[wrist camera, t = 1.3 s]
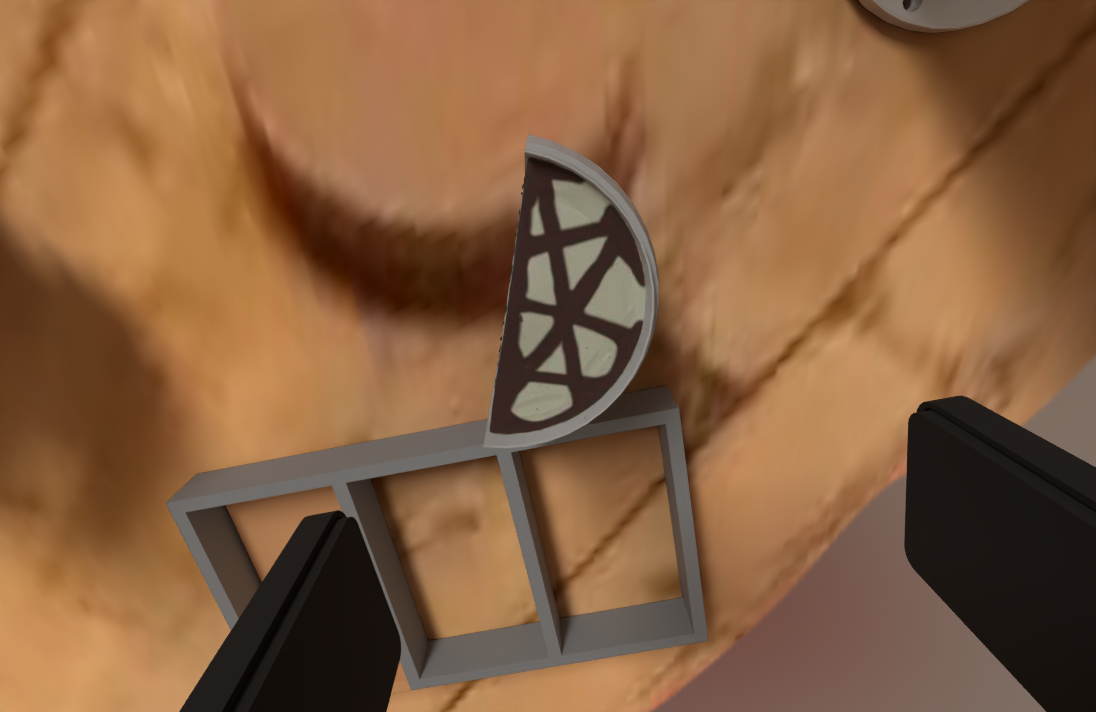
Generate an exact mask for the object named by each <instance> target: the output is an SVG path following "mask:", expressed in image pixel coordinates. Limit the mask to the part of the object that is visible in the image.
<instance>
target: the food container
mask: <svg viewBox="0 0 1096 712" xmlns="http://www.w3.org/2000/svg"><path fill="white" fill-rule="evenodd" d="M522 189H523V192H522V193H521V194H522V200H521V207H520V210H519V221H518V224H517V233H516V234H515V235H516V242H515V249H514V256H513V263H512V267H511V275H510V279H509V281H510V284H509V291H508V298H507V302H506V307H505V319H504V322H503V325H504V326H503V333H502V337H501V338H500V340H501V346H500V349H499V358H498V364H497V370H496V376H495V381H494V387H493V393H492V399H491V405H490V411H489V416H488V422H487V428H486V434H485V440H484V446H483V447H490V448H514V447H527V446H531V445H536V444H540V443H545V442H549V441H551V440H554V439H557V438H559V437H562V436H565V435H567V434H569V433H571V432H573V431H575V430H577V429H579V428H580V427H582V426H584V425H586V424H588V423H589V422H590V421H592V420H593V419H594V418H596V417H597V416H598V415H600V414H601V413H602V412H604V411H605V410H606V409H607V408H608V407H609V406H610V405H611V404H612V403H613V402H614V401H615V400H616V399H617V398H618V397H619V396H620V395H621V394H622V393H623V392H624V391H625V389H626V388H627V387H628V385H629V384H630V382H631V381H632V380H633V378H634V377H635V376H636V374H637V372H638V371H639V369H640V367H641V365H642V363H643V361H644V359H645V357H646V355H647V353H648V350H649V347H650V344H651V341H652V338H653V335H654V332H655V326H656V320H657V313H658V270H657V264H656V258H655V252H654V249H653V246H652V243H651V240H650V237H649V234H648V231H647V228H646V226H645V224H644V222H643V220H642V219H641V217H640V215H639V213H638V211H637V209H636V208H635V206H634V204H633V203H632V202H631V200H630V199H629V198H628V196H627V195H626V194H625V192H624V191H623V190H622V189H621V187H620V186H619V185H618V184H617V183H616V182H615V181H614V180H613V179H612V178H611V177H610V176H609V175H608V174H607V173H605V172H604V171H603V170H602V169H601V168H600V167H599V166H597V165H596V164H594V163H593V162H591V161H590V160H588V159H587V158H585V157H584V156H582V155H581V154H579V153H578V152H576V151H574V150H572V149H569V148H567V147H565V146H563V145H561V144H558V143H556V142H554V141H551V140H548V139H544V138H540V137H536V136H532V135H529V134H528V138H527V143H526V149H525V178H524V184H523V185H522Z"/></svg>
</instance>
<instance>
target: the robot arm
mask: <svg viewBox="0 0 1096 712" xmlns="http://www.w3.org/2000/svg"><path fill="white" fill-rule="evenodd" d="M858 1H859V2H860V3H861V4H862V5H863V6H864V7H865V8H866V9H867V10H869V11H870V12H872V13H873V14H875V15H876V16H878V17H879V18H881V19H882V20H884V21H885V22H887V23H890V24H893V25H896V26H898V27H901V28H904V29H906V30H911V31H920V32H928V33H938V32H947V31H957V30H961V29H964V28H968V27H972V26H975V25H979V24H983V23H986V22H988V21H991V20H993V19H995V18H998V17H1000V16H1003V15H1005V14H1007V13H1010V12H1012V11H1013V10H1015V9H1017V8H1018V7H1020V6H1021V5H1023V4H1024V3H1026V2H1028V1H1029V0H858ZM903 1H904V3H905V7H903ZM905 552H906V556H907V558H908V561H909V562H910V564H911V566H912V567H913V569H914V570H915V571H916V572H917V573H918V574H919V575H920V576H921V578H922V579H923V580H924V581H925V582H926V583H927V584H928V585H929V586H930V587H931V588H932V589H933V590H934V592H935V593H936V594H937V595H938V596H939V597H940V598H941V599H942V600H943V601H944V602H945V603H946V604H947V605H948V606H949V608H950V609H951V610H952V611H953V612H954V613H955V614H956V615H957V616H958V617H959V618H960V619H961V620H962V621H963V623H964V624H965V625H966V626H967V627H968V628H969V629H970V630H971V631H972V632H973V633H974V634H975V635H976V637H977V638H978V639H979V640H980V641H981V642H982V643H983V644H984V645H985V646H986V647H987V648H988V649H989V651H990V652H991V653H992V654H993V655H994V656H995V657H996V658H997V659H998V660H999V661H1000V662H1001V663H1002V664H1003V665H1004V666H1005V668H1006V669H1007V670H1008V671H1009V672H1010V673H1011V674H1012V675H1013V676H1014V677H1015V678H1016V679H1017V680H1018V682H1019V683H1020V684H1021V685H1022V686H1023V687H1024V688H1025V689H1026V690H1027V691H1028V692H1029V693H1030V694H1031V696H1032V697H1033V698H1034V699H1035V700H1036V701H1037V702H1038V703H1039V704H1040V705H1041V706H1042V707H1043V708H1044V709H1045V711H1046V712H1096V467H1094V466H1092V465H1090V464H1089V463H1087V462H1085V461H1083V460H1081V459H1079V458H1077V457H1075V456H1074V455H1072V454H1070V453H1068V452H1067V451H1065V450H1063V449H1061V448H1059V447H1057V446H1056V445H1054V444H1052V443H1050V442H1048V441H1046V440H1045V439H1043V438H1041V437H1039V436H1037V435H1035V434H1034V433H1032V432H1030V431H1028V430H1026V429H1024V428H1023V427H1021V426H1019V425H1017V424H1015V423H1014V422H1012V421H1010V420H1008V419H1006V418H1004V417H1003V416H1001V415H999V414H997V413H995V412H993V411H992V410H990V409H988V408H986V407H984V406H982V405H981V404H979V403H977V402H975V401H973V400H971V399H970V398H967V397H964V396H954V397H949V398H944V399H938V400H933V401H927V402H923V403H922V404H920V405H919V407H918V409H917V413H913V414H912V415H911V416H910V418H909V422H908V449H907V481H906V514H905ZM400 657H401V639H400V635H399V632H398V629H397V627H396V624H395V621H394V619H393V616H392V613H391V610H390V608H389V605H388V602H387V600H386V597H385V594H384V592H383V589H382V586H381V584H380V581H379V578H378V576H377V573H376V570H375V568H374V565H373V562H372V560H371V557H370V554H369V552H368V549H367V546H366V544H365V541H364V538H363V536H362V533H361V530H360V528H359V525H358V523H357V521H356V519H355V518H354V517H346V515H345V514H344V513H343V512H342V511H340V510H337V511H331V512H326V513H321V514H315V515H310V516H306V517H304V518H303V519H302V521H301V522H300V524H299V525H298V527H297V528H296V530H295V531H294V533H293V534H292V536H291V538H290V539H289V541H288V542H287V544H286V545H285V547H284V549H283V550H282V552H281V553H280V555H279V556H278V558H277V560H276V561H275V563H274V564H273V566H272V567H271V569H270V571H269V572H268V574H267V575H266V577H265V578H264V580H263V581H262V583H261V585H260V586H259V588H258V589H257V591H256V592H255V594H254V596H253V597H252V599H251V600H250V602H249V603H248V605H247V607H246V608H245V610H244V611H243V613H242V614H241V616H240V617H239V619H238V621H237V622H236V624H235V625H234V627H233V628H232V630H231V632H230V633H229V635H228V636H227V638H226V639H225V641H224V643H223V644H222V646H221V647H220V649H219V650H218V652H217V653H216V655H215V657H214V658H213V660H212V661H211V663H210V664H209V666H208V668H207V669H206V671H205V672H204V674H203V675H202V677H201V679H200V680H199V682H198V683H197V685H196V686H195V688H194V690H193V691H192V693H191V694H190V696H189V697H188V699H187V700H186V702H185V704H184V705H183V707H182V708H181V710H180V711H179V712H386V711H387V707H388V703H389V700H390V696H391V692H392V688H393V684H394V681H395V677H396V673H397V669H398V665H399V662H400Z"/></svg>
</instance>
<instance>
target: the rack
mask: <svg viewBox="0 0 1096 712" xmlns="http://www.w3.org/2000/svg"><path fill="white" fill-rule="evenodd" d="M487 422H488V419H486V420H481V421H475V422H470V423H465V424H459V425H454V426H449V427H443V428H438V429H433V430H427V431H422V432H417V433H411V434H406V435H401V436H395V437H390V438H385V439H380V440H374V441H369V442H364V443H358V444H353V445H348V446H342V447H337V448H332V449H326V450H321V451H316V452H310V453H305V454H300V455H294V456H289V457H284V458H278V459H273V460H268V461H262V462H257V463H252V464H246V465H241V466H236V467H230V468H225V469H220V470H214V471H209V472H204V473H198V474H196V475H195V476H194V477H193V478H192V479H191V480H190V481H189V482H188V483H186V484H185V485H184V486H183V487H182V488H181V489H180V490H179V491H178V492H177V493H176V494H175V495H174V496H173V497H172V498H170V499H169V500H168V501H167V502H166V505H167V507H168V509H169V511H170V513H171V515H172V517H173V519H174V521H175V522H176V524H177V526H178V528H179V530H180V532H181V534H182V536H183V538H184V540H185V542H186V544H187V546H188V548H189V550H190V552H191V554H192V555H193V557H194V559H195V561H196V563H197V565H198V567H199V569H200V571H201V573H202V575H203V577H204V579H205V581H206V583H207V585H208V587H209V589H210V590H211V592H212V594H213V596H214V598H215V600H216V602H217V604H218V606H219V608H220V610H221V612H222V614H223V616H224V618H225V620H226V622H227V624H228V625H229V627H230V629H231V630H232V628H233V627H234V625H235V624H236V622H237V621H238V619H239V617H240V616H241V614H242V613H243V611H244V610H245V608H246V607H247V605H248V603H249V602H250V600H251V599H252V597H253V596H254V594H255V592H256V591H257V589H258V588H259V586H260V585H261V583H262V581H263V580H264V578H265V577H266V575H267V574H268V572H269V571H270V569H271V567H272V566H273V564H274V563H275V561H276V560H277V558H278V556H279V555H280V553H281V552H282V550H283V549H284V547H285V545H286V544H287V542H288V541H289V539H290V538H291V536H292V534H293V533H294V531H295V530H296V528H297V527H298V525H299V524H300V522H301V521H302V519H303V518H304V517H306V516H310V515H315V514H321V513H326V512H331V511H337V510H340V511H342V512H343V513H344V514H345V515H346V517H354V518H355V519H356V521H357V523H358V525H359V528H360V530H361V533H362V536H363V538H364V541H365V544H366V546H367V549H368V552H369V554H370V557H371V560H372V562H373V565H374V568H375V570H376V573H377V576H378V578H379V581H380V584H381V586H382V589H383V592H384V594H385V597H386V600H387V602H388V605H389V608H390V610H391V613H392V616H393V619H394V621H395V624H396V627H397V629H398V632H399V635H400V639H401V657H400V662H399V665H398V669H397V673H396V677H395V681H394V684H393V688H392V692H391V694H392V693H398V692H404V691H410V690H416V689H422V688H428V687H434V686H440V685H446V684H452V683H458V682H464V681H470V680H476V679H482V678H488V677H494V676H500V675H506V674H512V673H518V672H524V671H530V670H536V669H542V668H548V667H554V666H560V665H566V664H572V663H578V662H584V661H590V660H596V659H603V658H609V657H615V656H621V655H627V654H633V653H639V652H645V651H651V650H657V649H663V648H669V647H675V646H681V645H687V644H693V643H699V642H705V641H708V635H707V627H706V619H705V611H704V603H703V595H702V587H701V579H700V571H699V563H698V555H697V548H696V540H695V532H694V524H693V516H692V508H691V500H690V492H689V484H688V476H687V468H686V460H685V452H684V444H683V436H682V428H681V420H680V412H679V407H678V405H677V404H676V402H675V400H674V398H673V397H672V395H671V393H670V391H669V390H668V388H667V386H662V387H657V388H651V389H646V390H641V391H635V392H630V393H625V394H621V395H620V396H619V397H618V398H617V399H616V400H615V401H614V402H613V403H612V404H611V405H610V406H609V407H608V408H607V409H606V410H605V411H604V412H602V413H601V414H600V415H598V416H597V417H596V418H594V419H593V420H592V421H590V422H589V423H588V424H586V425H584V426H582V427H580V428H579V429H577V430H575V431H573V432H571V433H569V434H567V435H565V436H562V437H559V438H557V439H554V440H551V441H549V442H545V443H540V444H536V445H531V446H527V447H514V448H490V447H483V446H484V440H485V434H486V428H487ZM657 425H658V429H659V436H660V443H661V450H662V458H663V465H664V472H665V479H666V486H667V493H668V500H669V507H670V514H671V521H672V528H673V535H674V542H675V549H676V556H677V563H678V570H679V577H680V584H681V591H682V598H677V599H671V600H665V601H660V602H654V603H648V604H642V605H636V606H630V607H624V608H618V609H612V610H607V611H601V612H595V613H589V614H583V615H577V616H571V617H565V618H559V614H558V610H557V606H556V601H555V597H554V593H553V589H552V585H551V581H550V577H549V573H548V569H547V565H546V560H545V556H544V552H543V548H542V544H541V540H540V536H539V532H538V528H537V523H536V519H535V515H534V511H533V507H532V503H531V499H530V495H529V491H528V487H527V482H526V478H525V474H524V470H523V466H522V462H521V458H520V454H519V451H521V450H527V449H532V448H537V447H543V446H548V445H554V444H559V443H564V442H570V441H575V440H581V439H586V438H592V437H597V436H602V435H608V434H613V433H619V432H624V431H630V430H635V429H640V428H646V427H651V426H657ZM494 455H497V459H498V463H499V466H500V470H501V474H502V478H503V482H504V486H505V489H506V493H507V497H508V501H509V505H510V509H511V513H512V516H513V520H514V524H515V528H516V532H517V536H518V539H519V543H520V547H521V551H522V555H523V559H524V562H525V566H526V570H527V574H528V578H529V582H530V586H531V589H532V593H533V597H534V601H535V605H536V609H537V612H538V616H539V620H540V622H536V623H530V624H524V625H518V626H513V627H507V628H501V629H495V630H489V631H483V632H477V633H471V634H465V635H460V636H454V637H448V638H442V639H436V640H430V641H428V639H427V636H426V633H425V631H424V628H423V625H422V622H421V619H420V617H419V614H418V611H417V608H416V605H415V603H414V600H413V597H412V594H411V591H410V589H409V586H408V583H407V580H406V577H405V574H404V572H403V569H402V566H401V563H400V560H399V558H398V555H397V552H396V549H395V546H394V544H393V541H392V538H391V535H390V532H389V530H388V527H387V524H386V521H385V518H384V516H383V513H382V510H381V507H380V504H379V502H378V499H377V496H376V493H375V490H374V488H373V485H372V482H371V479H370V478H375V477H380V476H386V475H391V474H397V473H402V472H407V471H413V470H418V469H424V468H429V467H434V466H440V465H445V464H451V463H456V462H462V461H467V460H472V459H478V458H483V457H489V456H494ZM225 505H226V506H225ZM226 507H227V508H226ZM227 509H228V510H227ZM228 511H229V512H228ZM232 520H233V521H232ZM233 522H234V523H233ZM234 524H235V525H234ZM235 526H236V527H235ZM236 528H237V529H236ZM240 537H241V538H240ZM241 539H242V540H241ZM242 541H243V542H242ZM243 543H244V544H243ZM244 545H245V546H244ZM249 556H250V557H249ZM250 558H251V559H250ZM251 560H252V561H251ZM252 562H253V563H252ZM257 573H258V574H257ZM258 575H259V576H258ZM259 577H260V578H259ZM260 579H261V580H260Z"/></svg>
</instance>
